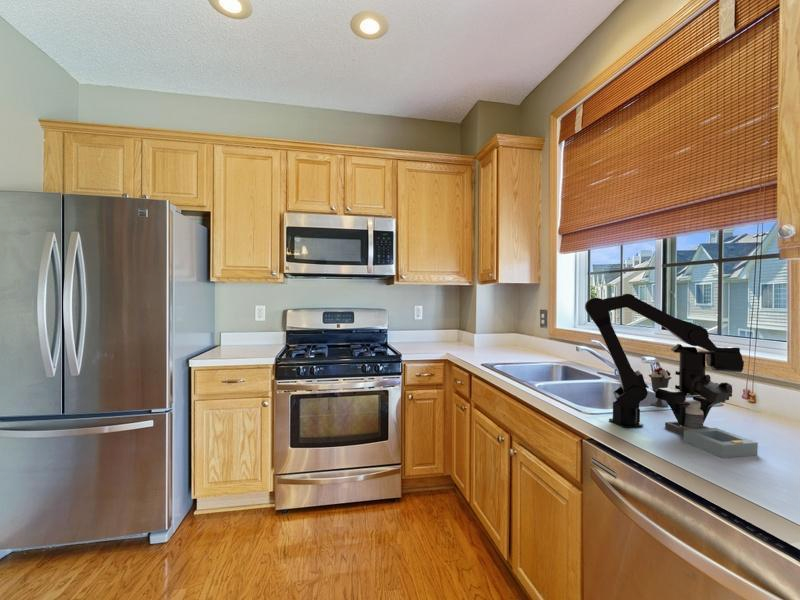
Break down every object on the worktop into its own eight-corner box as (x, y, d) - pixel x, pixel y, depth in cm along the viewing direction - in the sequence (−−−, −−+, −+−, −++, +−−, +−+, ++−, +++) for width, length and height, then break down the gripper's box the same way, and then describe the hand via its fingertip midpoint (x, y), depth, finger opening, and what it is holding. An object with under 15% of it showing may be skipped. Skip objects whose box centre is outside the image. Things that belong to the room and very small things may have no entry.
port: (723, 458, 87) (723, 444, 87) (683, 441, 97) (683, 428, 97) (757, 454, 89) (757, 441, 89) (715, 438, 99) (715, 426, 98)
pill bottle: (707, 436, 100) (708, 404, 100) (685, 435, 101) (686, 403, 101) (696, 429, 105) (696, 398, 105) (675, 428, 106) (676, 397, 106)
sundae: (648, 406, 127) (648, 362, 127) (647, 401, 133) (648, 360, 132) (671, 409, 123) (672, 365, 123) (670, 404, 129) (671, 361, 129)
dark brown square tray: (692, 439, 98) (693, 433, 98) (665, 427, 107) (665, 422, 106) (718, 437, 100) (719, 431, 100) (689, 425, 108) (689, 420, 108)
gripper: (691, 376, 93) (690, 437, 93) (751, 374, 97) (750, 433, 97) (654, 368, 104) (653, 422, 104) (708, 365, 107) (707, 418, 108)
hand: (691, 424), depth 103 cm, fingers open, 6 cm apart
